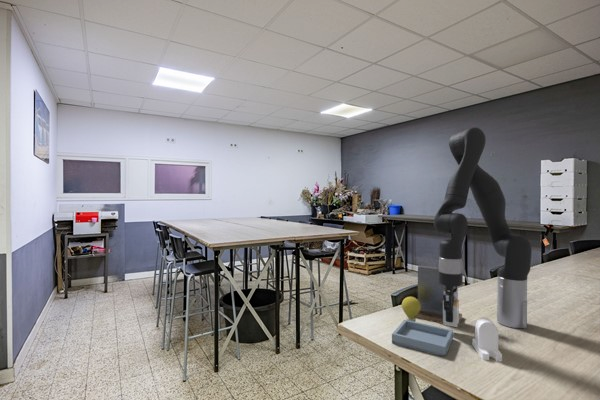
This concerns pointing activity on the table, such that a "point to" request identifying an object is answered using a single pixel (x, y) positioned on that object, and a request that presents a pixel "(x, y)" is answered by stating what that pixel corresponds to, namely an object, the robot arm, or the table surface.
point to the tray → (423, 337)
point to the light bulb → (411, 308)
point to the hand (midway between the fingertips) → (450, 319)
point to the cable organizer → (486, 339)
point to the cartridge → (455, 314)
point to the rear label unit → (431, 294)
